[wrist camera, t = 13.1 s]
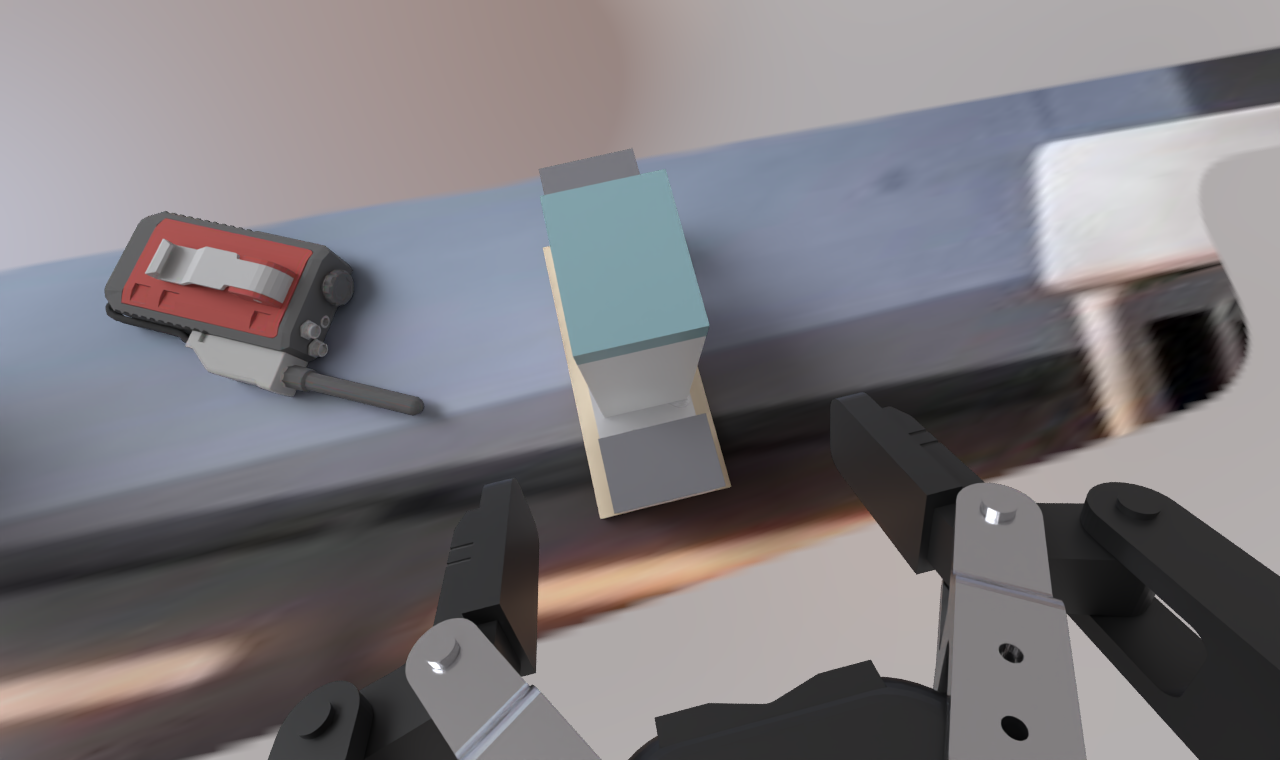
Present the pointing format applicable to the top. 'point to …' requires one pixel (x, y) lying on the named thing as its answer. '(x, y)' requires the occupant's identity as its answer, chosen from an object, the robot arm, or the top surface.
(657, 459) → the mounted modules
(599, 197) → the block
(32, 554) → the top surface
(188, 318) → the walkie-talkie
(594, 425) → the wood panel
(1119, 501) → the robot arm
